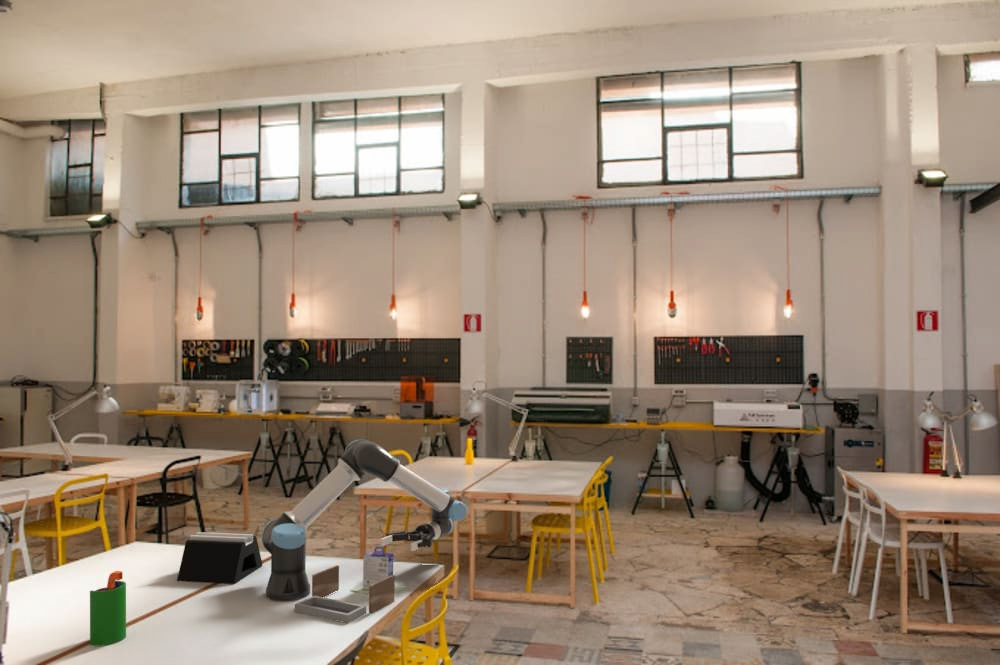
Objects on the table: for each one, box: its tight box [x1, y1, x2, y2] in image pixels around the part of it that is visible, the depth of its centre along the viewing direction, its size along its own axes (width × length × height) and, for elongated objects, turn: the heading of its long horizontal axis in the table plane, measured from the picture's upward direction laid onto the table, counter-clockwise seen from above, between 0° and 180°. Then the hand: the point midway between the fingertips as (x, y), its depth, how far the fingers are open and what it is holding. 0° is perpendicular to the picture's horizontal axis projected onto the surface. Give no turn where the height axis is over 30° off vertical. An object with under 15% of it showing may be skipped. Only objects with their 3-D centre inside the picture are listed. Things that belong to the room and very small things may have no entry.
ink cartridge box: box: [362, 546, 394, 590], centre depth 268 cm, size 10×6×14 cm, turn 78°
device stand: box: [176, 531, 263, 585], centre depth 286 cm, size 22×22×15 cm
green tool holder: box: [89, 570, 127, 647], centre depth 222 cm, size 10×9×20 cm
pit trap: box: [294, 595, 367, 624], centre depth 244 cm, size 22×9×2 cm, turn 63°
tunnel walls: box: [311, 564, 396, 615], centre depth 255 cm, size 25×13×9 cm, turn 63°
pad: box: [350, 583, 407, 595], centre depth 268 cm, size 16×12×1 cm
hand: (396, 544), depth 277 cm, fingers open, 13 cm apart
